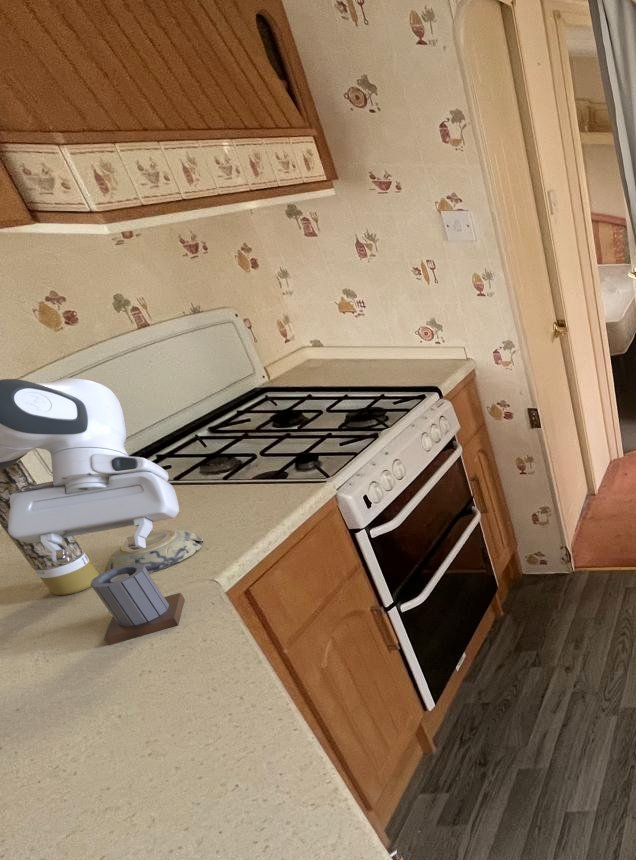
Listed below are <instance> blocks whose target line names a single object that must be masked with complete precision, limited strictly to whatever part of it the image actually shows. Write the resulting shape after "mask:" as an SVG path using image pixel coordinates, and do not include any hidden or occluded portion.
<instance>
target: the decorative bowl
mask: <svg viewBox="0 0 636 860" xmlns="http://www.w3.org/2000/svg"><path fill="white" fill-rule="evenodd" d="M196 541H198V542H202V541H204V538H203V537H201V536H199V535H197V534H195V533H193V532H191V531H188V530H180V529H179V530H175V529H169V528H168V529H167V528H165V529H157V530H151V531H150V533H149V535H148V536H147V538H145V542H146V548H143V549H137V550H133V549H130V548H129V547H128V543H129V542H127V540H126V541H125V542H124V543H122V545H121V546H120V547H119V548H118V549H117V550H115V551H114V552H113V553H112V554H111V556H110V557H109V558H108V559H109V560H108V562H107V565H106V569H105V570H106V571H108V570H111V569H113V568H116V567H120V566H124V565H129V564H141V565H143V566H145V568H146V570H147V571H148V573H149V574H150V573H154V572H157V571H160V570H164V569H166V568H169V567H170V565H175V564H177V563H180V562H183V561H184V560H186V559H187V558H190V557H192V556H193V555H194V554H195V553H196V552H198V551H199V550H200V549H201V548H202V547H203V546H202V545H201V544H199V543H198V542H196Z"/></svg>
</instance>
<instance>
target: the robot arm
mask: <svg viewBox="0 0 636 860" xmlns="http://www.w3.org/2000/svg"><path fill="white" fill-rule="evenodd" d="M127 437H128V436H127V426H126V420H125V416H124V411H123V408H122V405H121V403H120V400H119V398H118V397H117V395H116V394H115V393H114V392H113V391H112V390H111V389H110V388H109V387H107V386H105V385H104V384H102V383H100V382H96V381H94V380H89V379H84V378H77V377H67V378H66V377H65V378H60V379H58V380H56V381H49V382H32V381H28V380H24V379H16V378H4V379H0V470H2V469H5V468H8V467H10V466H12V465H13V464H15V463H16V462H17V461H18V460H21V459H22V458H24V457H25V456H26V455H27V454H28V453H29V452H31V451H33V450H34V449H40V450H46V451H47V452H49V454H50V459H51V470H52V471H51V474H52V481H46V482H41V483H37V485H26V486H23V487H21V489H19V490H17V491H16V492H14V493H13V494H11V496H10V513H9V521H8V532H9V534H10V535H11V536H12V537H14V538H16V539H18V540H21V541H24V542H27V543H36V542H41V543H42V544H43V545H44V546H45V547H46V548H48V549H49V550H50V551H51V552H52V560H53V562H54V563H57V564H62V563H68V562H72V558H71V557H72V552H70V551H66V550H64V549H61V548H60V547H59V546H58V545H57V544H62V538H65V537H70V536H73V537H75V536H81V535H87V534H92V533H97V532H104V531H110V530H115V529H121V528H126V527H132V526H135V527H137V528H136V530H135V532H134V534H133V535H132V536H128V537H126V541H127V542H129V543H128V547H129V548H130V549H133V550H137V549H143V548H146V542H145V538H147V536H148V535H149V533H150V532H151V531H153V529H154V527H153V526H154V525H153V524H154V523H155V522H161V521H167V520H172V519H175V518H176V516H178V514H179V512H180V506H179V501H178V496H177V492H176V490H175V488H174V486H173V485H172V484H171V483H170V482H168V481H169V478H170V477H169V476H170V475H169V473H168V471H166V469H164V468H163V467H161V466H160V465H159V464H157V463H155V462H153V461H151V460H149V459H147V458H145V457H142V456H141V457H140V456H129V453H128V452H127V450H126V447H125V445H126V442H127ZM20 492H21V493H20Z"/></svg>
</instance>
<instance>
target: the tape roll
mask: <svg viewBox="0 0 636 860" xmlns="http://www.w3.org/2000/svg"><path fill="white" fill-rule="evenodd" d="M121 574H129V575H130V577H127V578H125V579H123V580H120V581H117V582H113V583H111V582H110V580H111V579H112V578H113V577H115V576H118V575H121ZM91 588H92V589H93V591H94V592H95V593H96V595H97V596H98V598H99V599H100V600H101V602H102V603H103V605H104V607H105V608H106V609H107V611H108V612H109V613H110V615H111V616H112V617H114V619H115V620H116V622H117V623H118V624H119V625H121V626H134V625H139V624H142V623H146V622H147V621H151V620H153V619H155V618H157V617H159V616H160V615H162V614H163V613H164V612H166V611H167V610H168V607H169V604H168V602H167V601H166V599H165V598H164V597H165V596H164V594H163V593H162V591H161V590H160V588H159V587H158V585H157V584H156V582H155V581H154V579H153V577H152V576H151V574H150V573H148V571H147V570H146V568H145V566H143V565H141V564H129V565H124V566H120V567H116V568H113V569H111V570H108V571H107V570H106V571H104V572H102V573H99V575H98V576H97V577H95V578H94V579H93V580H92V582H91Z"/></svg>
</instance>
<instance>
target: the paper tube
mask: <svg viewBox="0 0 636 860" xmlns="http://www.w3.org/2000/svg"><path fill="white" fill-rule="evenodd" d="M29 471H30V470H28V468H27V467H26V465H25V464H24V463H23V461H22V460H21V459H20V460H18V461H17V462H16V463H15V464H13V465H12V466H10V467H8V468H5V469H2V470H0V527H1V528H2V529H3V530H4V532H5V533H6V534H7V536H8V537H9V539H11V541H12V543H13V544H14V545H15V546H16V548H17V549H18V550H19V552H20V553H21V554H22V556H23V557H24V559H25V560H26V561H27V563H28V564H29V565H30V566H31V568H32V570H34V571H35V573H36V575H37V576H38V577H39V578H40V580H41V581H42V582H43V583H44V585H45V587H46V588H47V590H49V592H50V593H51V594H54V595H56V596H68V595H72V594H76V593H79V592H83V591H84V590H87V589H89V588H92V586H91V582H92V580H93V579H94V578H95V577H97V576H98V575H100V573H99V572H98V570H97V569H96V567H95V566H94V565H93V563H92V562H91V560H90V558H89V557H88V556H87V554H86V552H85V551H84V549H83V548H82V547H81V545H80V544H79V542H78V541H77V540H76V538H75V536H70V537H65V538H62V544H57V545H58V546H59V547H60V548H61V549H64V550H66V551H70V552H72V557H71V558H72V562H68V563H62V564H57V563H54V562H53V560H52V552H51V551H50V550H49V549H48V548H46V547H45V546H44V545H43V544H42V543H41V542H36V543H27V542H24V541H21V540H18V539H16V538H14V537H12V536H11V535H10V534H9V532H8V521H9V513H10V496H11V494H13V493H14V492H16V491H17V490H19V489H21V487H23V486H26V485H37V484H38V483H37V481H36V480H35V479H34V477H33V476H32V474H31V473H30V472H29ZM20 493H21V492H20Z"/></svg>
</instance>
